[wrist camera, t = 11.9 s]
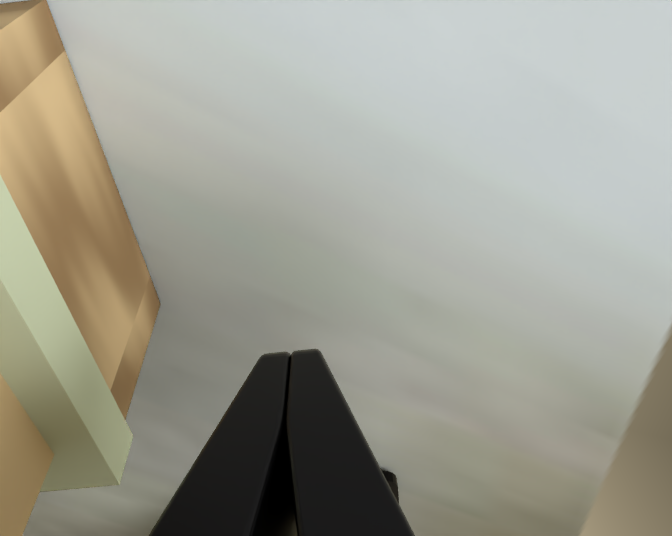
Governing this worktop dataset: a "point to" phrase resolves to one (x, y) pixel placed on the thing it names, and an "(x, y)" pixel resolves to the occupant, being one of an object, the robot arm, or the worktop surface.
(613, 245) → the worktop surface
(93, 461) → the lid
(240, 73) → the worktop surface
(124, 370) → the wooden box tray
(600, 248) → the worktop surface
